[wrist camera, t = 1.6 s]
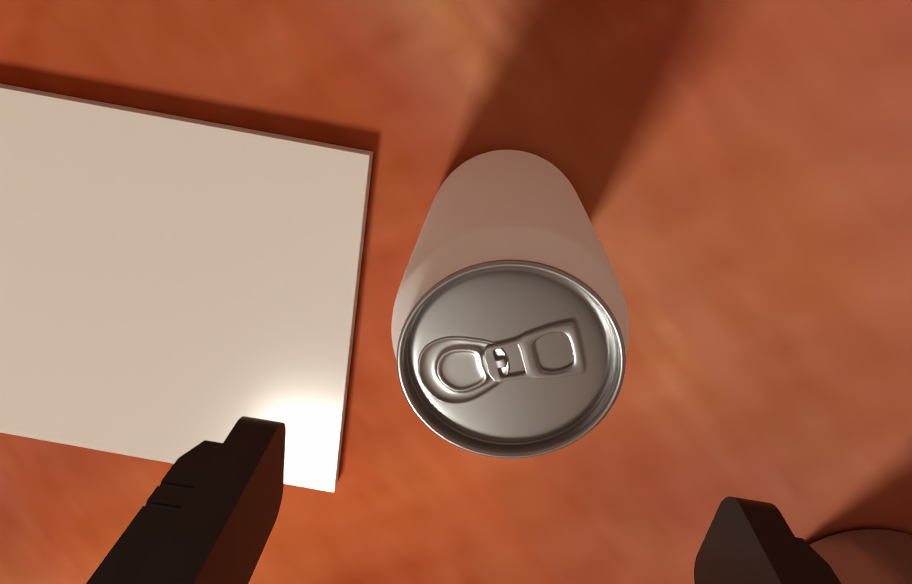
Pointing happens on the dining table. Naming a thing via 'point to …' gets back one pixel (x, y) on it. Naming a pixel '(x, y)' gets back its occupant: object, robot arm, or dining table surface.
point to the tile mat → (175, 280)
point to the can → (509, 312)
